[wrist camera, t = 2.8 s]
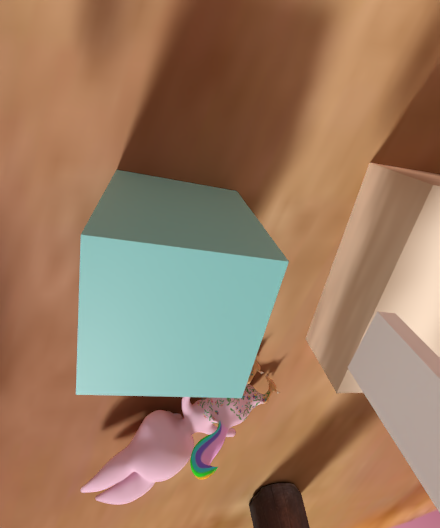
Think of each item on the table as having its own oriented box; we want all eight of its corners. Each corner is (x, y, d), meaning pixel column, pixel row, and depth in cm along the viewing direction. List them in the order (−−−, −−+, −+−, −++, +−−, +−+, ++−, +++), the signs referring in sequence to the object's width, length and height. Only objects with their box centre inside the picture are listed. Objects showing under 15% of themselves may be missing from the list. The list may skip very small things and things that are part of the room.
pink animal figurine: (233, 326, 23) (59, 453, 23) (269, 386, 18) (43, 552, 18) (272, 375, 26) (118, 488, 26) (312, 439, 21) (119, 582, 20)
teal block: (108, 277, 18) (76, 394, 11) (116, 169, 16) (81, 234, 9) (213, 288, 20) (241, 398, 13) (236, 190, 17) (288, 261, 10)
